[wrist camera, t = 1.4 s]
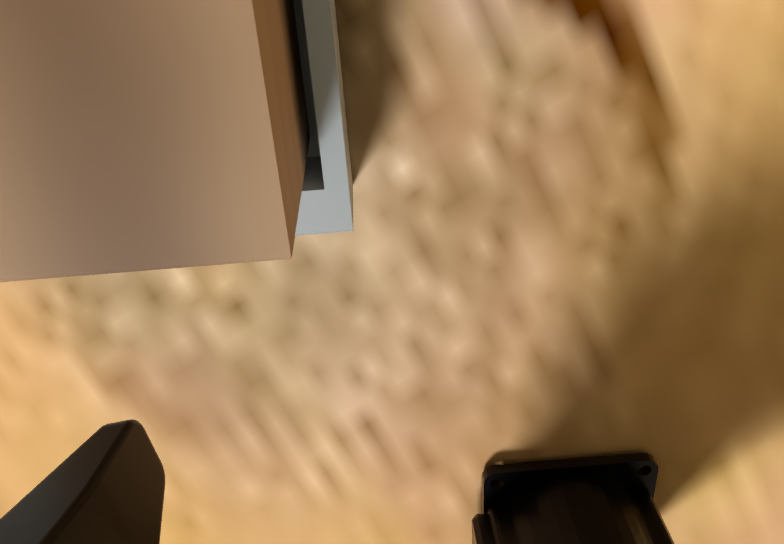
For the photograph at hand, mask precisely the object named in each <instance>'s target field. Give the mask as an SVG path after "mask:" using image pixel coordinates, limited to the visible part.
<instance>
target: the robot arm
mask: <svg viewBox="0 0 784 544" xmlns="http://www.w3.org/2000/svg"><path fill="white" fill-rule="evenodd" d="M642 466H644V467H642ZM640 467H641V468H640ZM657 473H658V465H657V463H656V462H655V460H654V458H653V457H652V455H650V454H648V453H635V454H623V455H611V456H600V457H588V458H576V459H564V460H552V461H540V462H528V463H517V464H505V465H494V466H490V467H488V468H487V469H485V470H484V472H483V474H482V514H476V516H475V517H474V518H473V519H472V544H674V542H673V540H672V538H671V536H670V534H669V532H668V530H667V527H666V525H665V523H664V521H663V519H662V517H661V515H660V513H659V511H658V509H657V507H656V505H655V503H654V501H653V497H654V491H655V485H656V479H657ZM495 478H499V479H497V480H493V479H495ZM164 490H165V474H164V469H163V465H162V463H161V461H160V459H159V457H158V455H157V453H156V451H155V449H154V447H153V445H152V443H151V441H150V439H149V437H148V435H147V433H146V431H145V429H144V428H143V426H142V425H141V424H140V423H139V422H138V421H136V420H126V421H121V422H116V423H110V424H107V425H104V426H102V427H101V428H100V429H99V430H98V431H97V432H96V433H94V434H93V435H92V436H91V437H90V438H89V439H88V440H87V441H86V442H85V443H83V444H82V445H81V446H80V447H79V448H78V449H77V450H76V451H75V452H74V453H72V454H71V455H70V456H69V457H68V458H67V459H66V460H65V461H64V462H63V463H61V464H60V465H59V466H58V467H57V468H56V469H55V470H54V471H53V472H52V473H50V474H49V475H48V476H47V477H46V478H45V479H44V480H43V481H42V482H41V483H40V484H38V485H37V486H36V487H35V488H34V489H33V490H32V491H31V492H30V493H29V494H27V495H26V496H25V497H24V498H23V499H22V500H21V501H20V502H19V503H18V504H16V505H15V506H14V507H13V508H12V509H11V510H10V511H9V512H8V513H7V514H5V515H4V516H3V517H2V518H1V519H0V544H159V542H160V532H161V521H162V511H163V500H164Z"/></svg>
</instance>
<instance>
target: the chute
mask: <svg viewBox="0 0 784 544" xmlns="http://www.w3.org/2000/svg"><path fill="white" fill-rule="evenodd" d="M293 3H294V11H295V19H296V27H297V35H298V43H299V51H300V59H301V67H302V75H303V83H304V91H305V99H306V107H307V115H308V123H309V131H310V141H309V148H308V154H307V161H306V167H305V174H304V180H303V187H302V193H301V200H300V206H299V212H298V219H297V225H296V232H295V236H297V235H310V234H322V233H335V232H347V231H353V182H352V172H351V162H350V151H349V141H348V131H347V121H346V111H345V100H344V90H343V80H342V70H341V60H340V49H339V39H338V29H337V19H336V9H335V0H293Z"/></svg>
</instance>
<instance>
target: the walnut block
mask: <svg viewBox="0 0 784 544" xmlns="http://www.w3.org/2000/svg"><path fill="white" fill-rule="evenodd" d="M309 141H310V131H309V123H308V115H307V107H306V99H305V91H304V83H303V75H302V67H301V59H300V51H299V43H298V35H297V27H296V19H295V11H294V3H293V0H0V282H8V281H20V280H33V279H45V278H58V277H70V276H82V275H95V274H107V273H120V272H132V271H145V270H157V269H170V268H182V267H195V266H207V265H220V264H232V263H244V262H257V261H269V260H282V259H291V258H292V251H293V245H294V238H295V232H296V225H297V219H298V212H299V206H300V200H301V193H302V187H303V180H304V174H305V167H306V161H307V154H308V148H309Z"/></svg>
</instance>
